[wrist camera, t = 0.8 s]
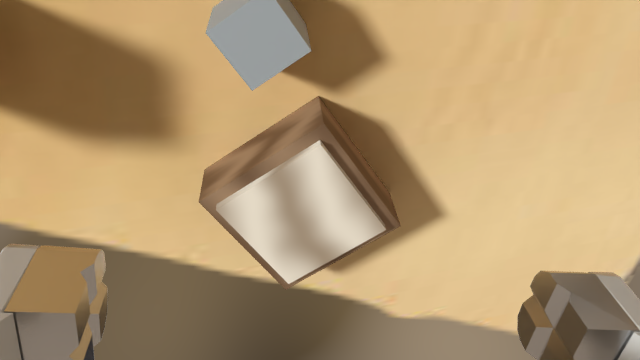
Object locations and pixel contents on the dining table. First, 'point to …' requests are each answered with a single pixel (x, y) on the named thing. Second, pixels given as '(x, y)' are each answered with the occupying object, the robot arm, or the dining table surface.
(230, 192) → the walnut block
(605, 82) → the dining table surface
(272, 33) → the slate block
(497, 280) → the dining table surface
